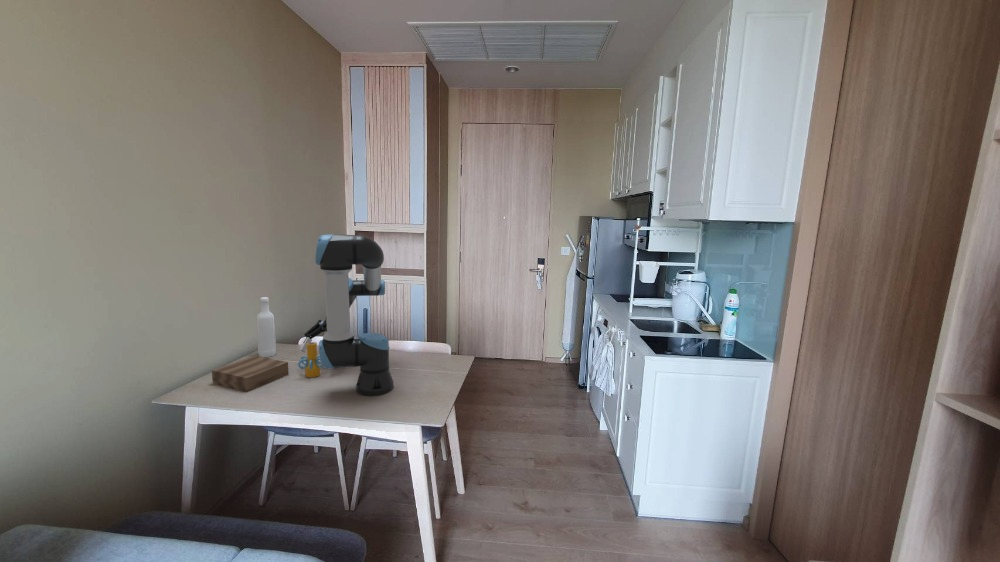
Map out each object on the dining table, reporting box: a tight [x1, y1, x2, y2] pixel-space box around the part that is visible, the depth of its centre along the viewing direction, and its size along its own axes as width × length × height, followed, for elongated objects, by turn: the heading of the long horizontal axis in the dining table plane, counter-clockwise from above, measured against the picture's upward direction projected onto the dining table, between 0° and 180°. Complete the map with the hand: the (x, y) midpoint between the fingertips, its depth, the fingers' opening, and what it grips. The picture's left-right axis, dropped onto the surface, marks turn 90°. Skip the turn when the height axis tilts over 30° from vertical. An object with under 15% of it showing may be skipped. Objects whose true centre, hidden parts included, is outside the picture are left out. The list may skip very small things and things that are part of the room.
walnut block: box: [211, 355, 290, 393], centre depth 171 cm, size 20×20×6 cm
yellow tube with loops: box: [297, 341, 324, 378], centre depth 177 cm, size 12×10×15 cm
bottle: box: [256, 296, 277, 358], centre depth 200 cm, size 8×8×30 cm
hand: (313, 353), depth 178 cm, fingers open, 13 cm apart
